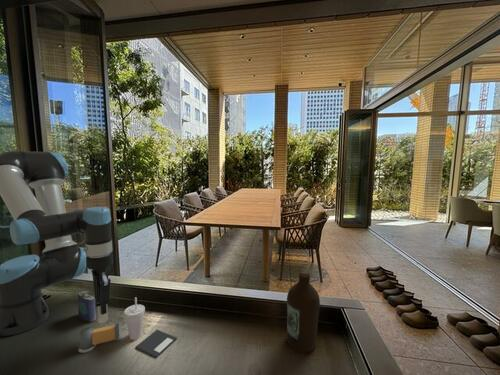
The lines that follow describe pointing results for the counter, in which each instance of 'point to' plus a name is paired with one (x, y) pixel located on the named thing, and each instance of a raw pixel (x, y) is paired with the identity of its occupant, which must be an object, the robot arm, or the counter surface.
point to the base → (86, 349)
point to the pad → (156, 343)
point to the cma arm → (98, 335)
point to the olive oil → (302, 314)
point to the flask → (86, 307)
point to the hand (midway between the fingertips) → (103, 321)
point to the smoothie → (134, 320)
